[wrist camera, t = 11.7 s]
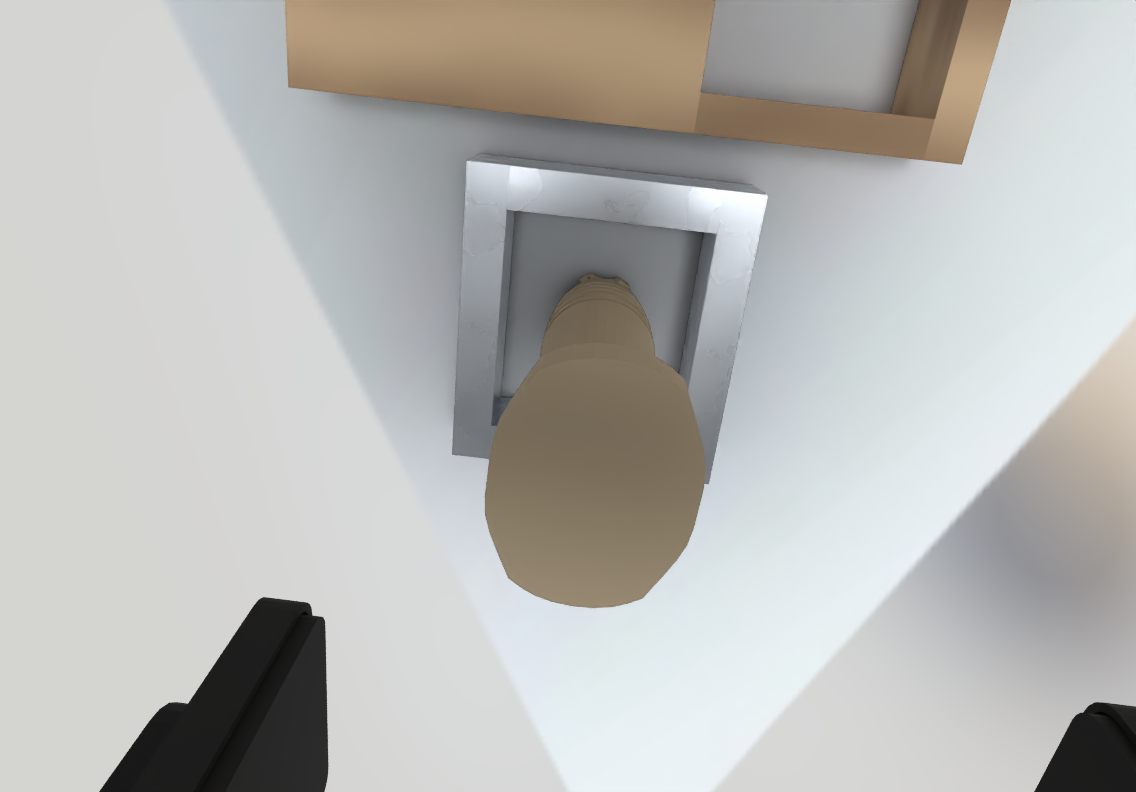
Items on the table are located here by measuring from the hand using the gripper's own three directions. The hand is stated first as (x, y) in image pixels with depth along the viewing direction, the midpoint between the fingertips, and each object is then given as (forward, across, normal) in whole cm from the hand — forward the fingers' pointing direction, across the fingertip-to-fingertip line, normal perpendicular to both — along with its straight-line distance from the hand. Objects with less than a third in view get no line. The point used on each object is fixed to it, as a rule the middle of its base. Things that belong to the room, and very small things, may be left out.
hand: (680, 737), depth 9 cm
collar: (+22, +1, +2) cm, 23 cm away
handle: (+23, +1, +1) cm, 23 cm away
